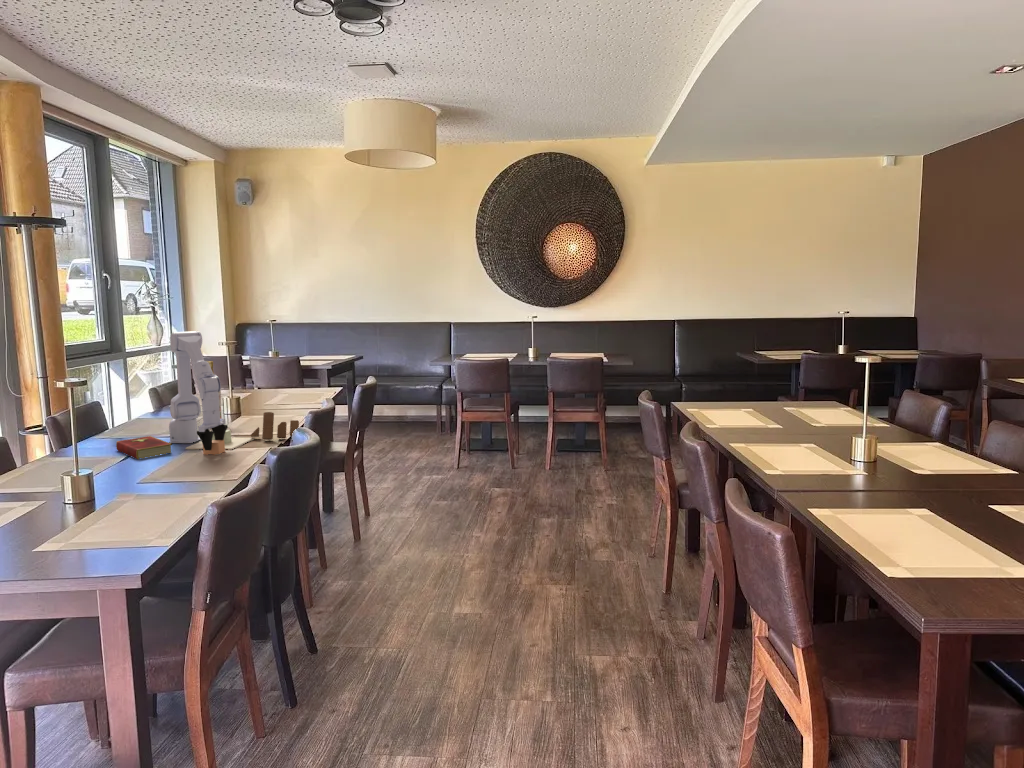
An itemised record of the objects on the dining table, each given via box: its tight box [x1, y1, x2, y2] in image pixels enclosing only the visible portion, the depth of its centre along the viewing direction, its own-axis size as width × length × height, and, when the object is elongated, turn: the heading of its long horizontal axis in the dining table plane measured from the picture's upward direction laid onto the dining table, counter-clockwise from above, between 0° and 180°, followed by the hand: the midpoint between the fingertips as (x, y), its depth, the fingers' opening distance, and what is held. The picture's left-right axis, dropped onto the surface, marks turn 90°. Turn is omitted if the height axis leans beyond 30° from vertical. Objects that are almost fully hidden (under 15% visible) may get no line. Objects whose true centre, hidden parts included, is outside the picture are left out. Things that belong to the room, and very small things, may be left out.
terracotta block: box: [202, 440, 226, 455], centre depth 249 cm, size 6×4×4 cm, turn 84°
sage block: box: [212, 429, 232, 444], centre depth 263 cm, size 6×4×4 cm, turn 84°
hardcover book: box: [115, 435, 173, 460], centre depth 253 cm, size 12×21×4 cm, turn 47°
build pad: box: [185, 436, 256, 451], centre depth 264 cm, size 18×18×1 cm
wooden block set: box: [249, 411, 300, 441], centre depth 271 cm, size 18×9×10 cm, turn 103°
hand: (213, 447), depth 249 cm, fingers open, 7 cm apart
